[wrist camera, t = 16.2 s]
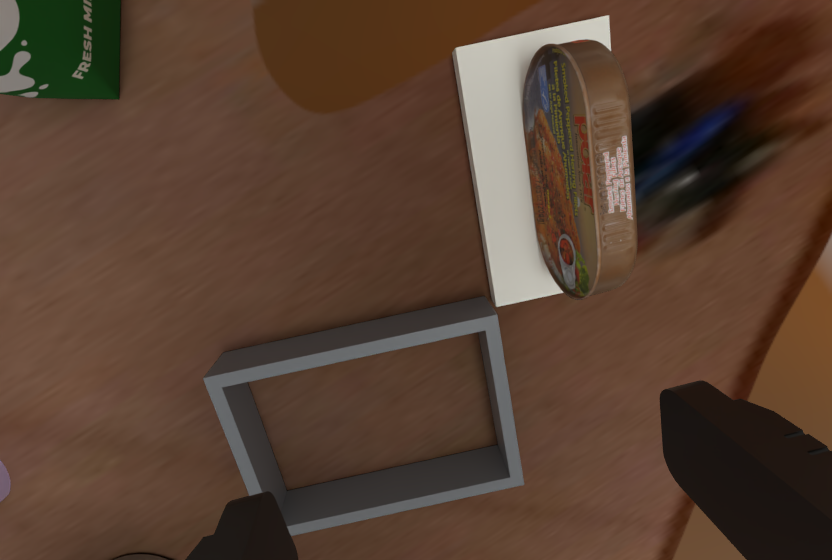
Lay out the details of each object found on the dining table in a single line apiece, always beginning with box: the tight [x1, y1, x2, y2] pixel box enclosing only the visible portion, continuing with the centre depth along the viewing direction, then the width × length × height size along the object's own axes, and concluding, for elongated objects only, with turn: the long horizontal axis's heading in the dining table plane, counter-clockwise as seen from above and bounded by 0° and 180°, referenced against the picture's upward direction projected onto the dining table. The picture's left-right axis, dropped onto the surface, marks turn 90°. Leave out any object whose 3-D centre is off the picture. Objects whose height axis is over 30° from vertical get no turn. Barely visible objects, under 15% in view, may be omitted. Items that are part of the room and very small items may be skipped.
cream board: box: [452, 15, 611, 307], centre depth 31 cm, size 18×10×2 cm, turn 12°
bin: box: [203, 296, 524, 536], centre depth 35 cm, size 15×21×4 cm
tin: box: [522, 39, 638, 300], centre depth 26 cm, size 15×3×8 cm, turn 11°
